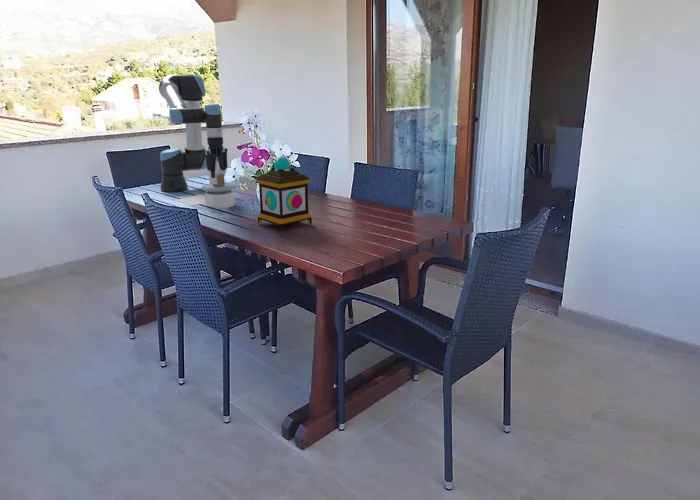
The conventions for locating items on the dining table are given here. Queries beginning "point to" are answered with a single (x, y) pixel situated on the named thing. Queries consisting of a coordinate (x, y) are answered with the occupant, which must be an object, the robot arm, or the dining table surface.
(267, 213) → the decorative lantern
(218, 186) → the lid
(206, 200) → the bowl
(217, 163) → the milk bottle
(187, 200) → the mat
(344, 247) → the dining table surface
